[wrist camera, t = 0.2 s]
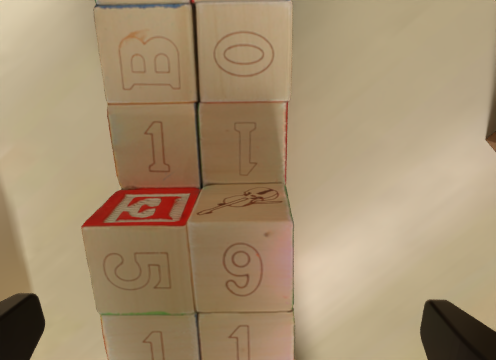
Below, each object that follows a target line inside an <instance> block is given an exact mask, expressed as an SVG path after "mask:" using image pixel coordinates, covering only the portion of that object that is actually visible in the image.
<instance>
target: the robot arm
mask: <svg viewBox="0 0 496 360" xmlns="http://www.w3.org/2000/svg"><path fill="white" fill-rule="evenodd" d="M44 328H45V319H44V315H43V312H42V308H41V304H40V301H39V298H38V296H37V295H36V294H33V293H18V294H15V295H13V296H11V297H9V298H7V299H5V300H3V301H1V302H0V360H30V358H31V356H32V354H33V352H34V350H35V348H36V346H37V344H38V342H39V340H40V338H41V336H42V334H43V331H44ZM420 335H421V340H422V343H423V346H424V349H425V352H426V356H427V359H428V360H496V332H495V331H494V330H492V329H491V328H489V327H488V326H486V325H484V324H483V323H481V322H480V321H478V320H477V319H475V318H474V317H472V316H471V315H469V314H468V313H466V312H464V311H463V310H461V309H460V308H458V307H457V306H455V305H454V304H452V303H451V302H449V301H447V300H434V299H430V300H427V301H426V302H425V305H424V310H423V316H422V322H421V327H420Z"/></svg>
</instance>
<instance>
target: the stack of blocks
mask: <svg viewBox="0 0 496 360" xmlns="http://www.w3.org/2000/svg"><path fill="white" fill-rule="evenodd" d="M95 2H96V6H95V7H94V21H95V27H96V34H97V41H98V49H99V56H100V62H101V68H102V75H103V82H104V91H105V97H106V101H107V103H108V106H107V117H108V122H109V130H110V137H111V143H112V149H113V155H114V161H115V167H116V174H117V178H118V181H119V184H120V186H121V188H122V189H121V190H119V191H117V192H115V193H114V194H113V195H112V196H111V197H110V198H109V199H108V200H107V201H106V202H105V203H104V204H103V205H102V206H101V207H100V208H99V209H98V210H97V211H96V212H95V213H94V214H93V215H92V216H91V217H90V218H89V219H88V220H86V222H85V223H84V224H83V225H82V227H81V229H82V235H83V241H84V246H85V251H86V257H87V262H88V267H89V271H90V276H91V283H92V289H93V294H94V299H95V304H96V309H97V311H98V313H99V314H100V317H101V325H102V333H103V339H104V344H105V349H106V354H107V357H108V360H294V359H295V321H294V312H293V304H294V223H293V218H292V214H291V209H290V204H289V199H288V194H287V189H286V186H285V185H286V160H287V112H288V102H289V100H290V98H291V78H292V31H293V3H292V1H291V0H95Z"/></svg>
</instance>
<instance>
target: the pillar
mask: <svg viewBox="0 0 496 360" xmlns="http://www.w3.org/2000/svg"><path fill="white" fill-rule="evenodd" d="M486 141H487V142H488V143H489V144H490V146H491V147H492V148H493V149H494V151H495V152H496V132H494V133H493V134H492V135H491V136H489V137H488V138H487V139H486Z"/></svg>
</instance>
